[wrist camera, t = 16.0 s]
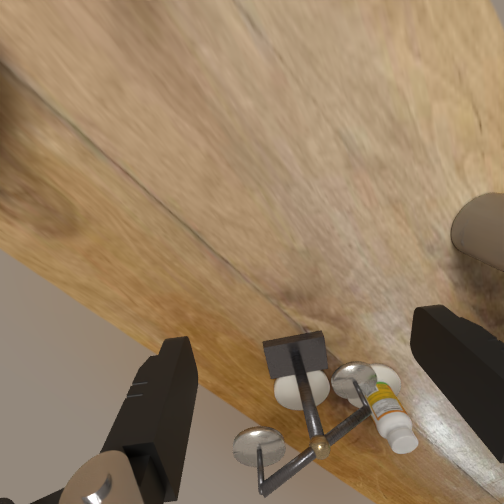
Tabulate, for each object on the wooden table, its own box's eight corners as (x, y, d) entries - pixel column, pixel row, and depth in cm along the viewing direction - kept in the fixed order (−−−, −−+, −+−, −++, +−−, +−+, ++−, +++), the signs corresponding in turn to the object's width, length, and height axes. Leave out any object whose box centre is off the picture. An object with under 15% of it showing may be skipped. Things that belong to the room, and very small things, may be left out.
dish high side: (327, 360, 47) (329, 366, 45) (328, 400, 50) (330, 406, 49) (271, 367, 47) (272, 373, 46) (276, 407, 50) (277, 413, 49)
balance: (353, 324, 44) (432, 448, 26) (356, 356, 46) (429, 489, 28) (231, 347, 45) (224, 483, 27) (240, 377, 47) (239, 520, 29)
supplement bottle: (384, 400, 49) (416, 457, 40) (356, 399, 49) (382, 457, 40) (392, 378, 47) (428, 433, 38) (363, 377, 47) (393, 432, 38)
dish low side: (399, 360, 47) (403, 365, 46) (395, 399, 51) (398, 405, 50) (344, 367, 47) (346, 372, 46) (343, 406, 51) (346, 412, 50)
